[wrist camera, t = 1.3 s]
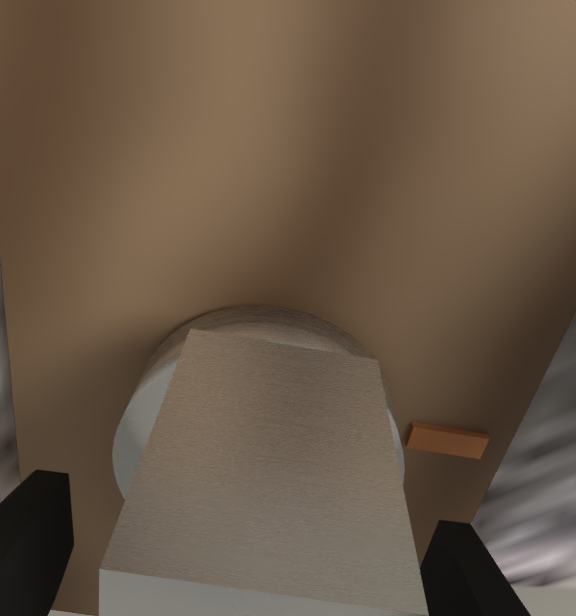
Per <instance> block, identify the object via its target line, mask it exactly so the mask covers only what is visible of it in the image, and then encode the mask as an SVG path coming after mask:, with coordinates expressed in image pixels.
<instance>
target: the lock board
mask: <svg viewBox="0 0 576 616" xmlns="http://www.w3.org/2000/svg"><path fill="white" fill-rule="evenodd" d="M0 261H1V272H2V283H3V294H4V306H5V317H6V328H7V339H8V350H9V362H10V373H11V384H12V395H13V407H14V418H15V429H16V440H17V451H18V463H19V474H20V484H21V483H22V482H23V481H24V480H25V479H26V478H27V477H28V476H29V475H30V474H31V473H32V472H34V471H35V470H37V469H38V470H46V471H54V472H62V473H69V481H70V494H71V507H72V520H73V533H74V547H73V550H72V553H71V556H70V559H69V562H68V565H67V567H66V570H65V573H64V576H63V579H62V582H61V584H60V587H59V590H58V593H57V595H56V598H55V601H54V603H53V605H52V607H51V609H50V610H58V611H65V612H72V613H79V614H86V615H94V616H99V568H100V566H101V563H102V561H103V558H104V555H105V553H106V550H107V547H108V545H109V542H110V539H111V537H112V534H113V532H114V529H115V526H116V524H117V521H118V518H119V516H120V513H121V510H122V508H123V505H124V502H125V499H124V498H123V496H122V494H121V491H120V489H119V487H118V484H117V482H116V478H115V474H114V469H113V457H112V452H113V443H114V438H115V435H116V431H117V428H118V425H119V423H120V421H121V419H122V417H123V414H124V412H125V410H126V408H127V406H128V404H129V402H130V399H131V397H132V395H133V393H134V391H135V389H136V386H137V384H138V382H139V380H140V378H141V376H142V374H143V371H144V369H145V367H146V365H147V364H148V362H149V360H150V358H151V356H152V355H153V354H154V352H155V351H156V350H157V348H158V347H159V346H160V345H161V344H162V343H163V342H164V341H165V340H166V339H167V338H168V337H169V336H170V335H171V334H173V333H174V332H175V331H177V330H178V329H180V328H181V327H182V326H184V325H186V324H188V323H189V322H191V321H193V320H195V319H197V318H199V317H202V316H205V315H207V314H210V313H212V312H216V311H220V310H224V309H228V308H234V307H242V306H276V307H285V308H290V309H294V310H298V311H303V312H306V313H309V314H312V315H314V316H317V317H320V318H322V319H324V320H326V321H328V322H330V323H332V324H334V325H336V326H338V327H339V328H341V329H342V330H344V331H345V332H347V333H348V334H350V335H351V336H353V337H354V338H355V339H356V340H357V341H358V342H359V343H360V344H362V345H363V346H364V347H365V348H366V350H367V351H368V352H369V353H370V354H371V355H372V357H373V358H374V359H376V360H378V364H379V367H380V369H381V370H382V372H383V375H384V377H385V379H386V381H387V384H388V387H389V391H390V395H391V400H392V404H393V409H394V414H395V418H396V423H397V428H398V432H399V437H400V441H401V446H402V451H403V455H404V468H405V472H404V481H403V489H404V494H405V499H406V504H407V509H408V514H409V519H410V524H411V529H412V534H413V539H414V544H415V549H416V554H417V559H418V564H419V569H420V566H421V564H422V561H423V559H424V556H425V554H426V551H427V549H428V546H429V544H430V541H431V539H432V536H433V534H434V531H435V529H436V526H437V524H438V521H439V520H447V521H455V522H463V523H470V524H471V522H472V520H473V518H474V515H475V513H476V511H477V509H478V507H479V505H480V503H481V501H482V499H483V497H484V495H485V493H486V491H487V489H488V487H489V485H490V483H491V481H492V479H493V477H494V475H495V473H496V471H497V469H498V467H499V465H500V463H501V461H502V459H503V457H504V455H505V453H506V451H507V449H508V447H509V445H510V443H511V441H512V439H513V437H514V435H515V433H516V431H517V429H518V427H519V425H520V423H521V421H522V419H523V417H524V415H525V413H526V411H527V409H528V407H529V405H530V403H531V401H532V399H533V397H534V395H535V393H536V390H537V388H538V386H539V384H540V382H541V380H542V378H543V376H544V374H545V372H546V370H547V368H548V366H549V364H550V362H551V360H552V358H553V356H554V354H555V352H556V350H557V348H558V346H559V344H560V342H561V340H562V338H563V336H564V334H565V332H566V330H567V328H568V326H569V324H570V322H571V320H572V318H573V316H574V314H575V312H576V0H0Z"/></svg>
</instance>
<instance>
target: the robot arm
mask: <svg viewBox="0 0 576 616" xmlns="http://www.w3.org/2000/svg"><path fill="white" fill-rule="evenodd" d="M73 547H74V533H73V520H72V507H71V494H70V481H69V473H62V472H54V471H46V470H38V469H37V470H35V471H34V472H32V473H31V474H30V475H29V476H28V477H27V478H26V479H25V480H24V481H23V482H22V483H21V484H20V485H19V486H18V487H17V488H15V489H14V490H13V491H12V492H11V493H10V494H9V495H8V496H7V497H6V498H5V499H4V500H3V501H2V502H1V503H0V616H47V615H48V614H49V611H50V609H51V607H52V605H53V603H54V601H55V598H56V595H57V593H58V590H59V587H60V584H61V582H62V579H63V576H64V573H65V570H66V567H67V565H68V562H69V559H70V556H71V553H72V550H73ZM420 574H421V579H422V584H423V589H424V594H425V599H426V604H427V609H428V614H429V616H531V615H530V614H529V612H528V611H527V609H526V608H525V606H524V605H523V603H522V602H521V601H520V599H519V598H518V596H517V595H516V593H515V592H514V590H513V588H512V587H511V585H510V584H509V582H508V581H507V579H506V578H505V576H504V575H503V573H502V572H501V570H500V569H499V567H498V566H497V564H496V563H495V561H494V559H493V558H492V556H491V555H490V553H489V552H488V550H487V549H486V547H485V546H484V544H483V542H482V541H481V539H480V538H479V536H478V535H477V533H476V532H475V530H474V529H473V527H472V526H471V524H470V523H463V522H455V521H447V520H439V521H438V524H437V526H436V529H435V531H434V534H433V536H432V539H431V541H430V544H429V546H428V549H427V551H426V554H425V556H424V559H423V561H422V564H421V566H420Z"/></svg>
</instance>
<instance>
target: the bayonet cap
mask: <svg viewBox="0 0 576 616" xmlns="http://www.w3.org/2000/svg"><path fill="white" fill-rule="evenodd" d="M112 457H113V469H114V474H115V478H116V482H117V484H118V487H119V489H120V491H121V494H122V496H123V498H124V499H125V502H124V505H123V508H122V510H121V513H120V516H119V518H118V521H117V524H116V526H115V529H114V532H113V534H112V537H111V539H110V542H109V545H108V547H107V550H106V553H105V555H104V558H103V561H102V563H101V566H100V568H99V616H429V614H428V609H427V604H426V599H425V594H424V589H423V584H422V579H421V574H420V569H419V564H418V559H417V554H416V549H415V544H414V539H413V534H412V529H411V524H410V519H409V514H408V509H407V504H406V499H405V494H404V489H403V481H404V472H405V468H404V455H403V451H402V446H401V441H400V437H399V432H398V428H397V423H396V418H395V414H394V409H393V404H392V400H391V395H390V391H389V387H388V384H387V381H386V379H385V377H384V375H383V372H382V370H381V369H380V367H379V364H378V360H376V359H374V358H373V357H372V355H371V354H370V353H369V352H368V351H367V350H366V348H365V347H364V346H363V345H362V344H360V343H359V342H358V341H357V340H356V339H355V338H354V337H353V336H351V335H350V334H348V333H347V332H345V331H344V330H342V329H341V328H339V327H338V326H336V325H334V324H332V323H330V322H328V321H326V320H324V319H322V318H320V317H317V316H314V315H312V314H309V313H306V312H303V311H298V310H294V309H290V308H285V307H276V306H242V307H234V308H228V309H224V310H220V311H216V312H212V313H210V314H207V315H205V316H202V317H199V318H197V319H195V320H193V321H191V322H189V323H188V324H186V325H184V326H182V327H181V328H180V329H178V330H177V331H175V332H174V333H173V334H171V335H170V336H169V337H168V338H167V339H166V340H165V341H164V342H163V343H162V344H161V345H160V346H159V347H158V348H157V350H156V351H155V352H154V354H153V355H152V356H151V358H150V360H149V362H148V364H147V365H146V367H145V369H144V371H143V374H142V376H141V378H140V380H139V382H138V384H137V386H136V389H135V391H134V393H133V395H132V397H131V399H130V402H129V404H128V406H127V408H126V410H125V412H124V414H123V417H122V419H121V421H120V423H119V425H118V428H117V431H116V435H115V438H114V443H113V452H112Z"/></svg>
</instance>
